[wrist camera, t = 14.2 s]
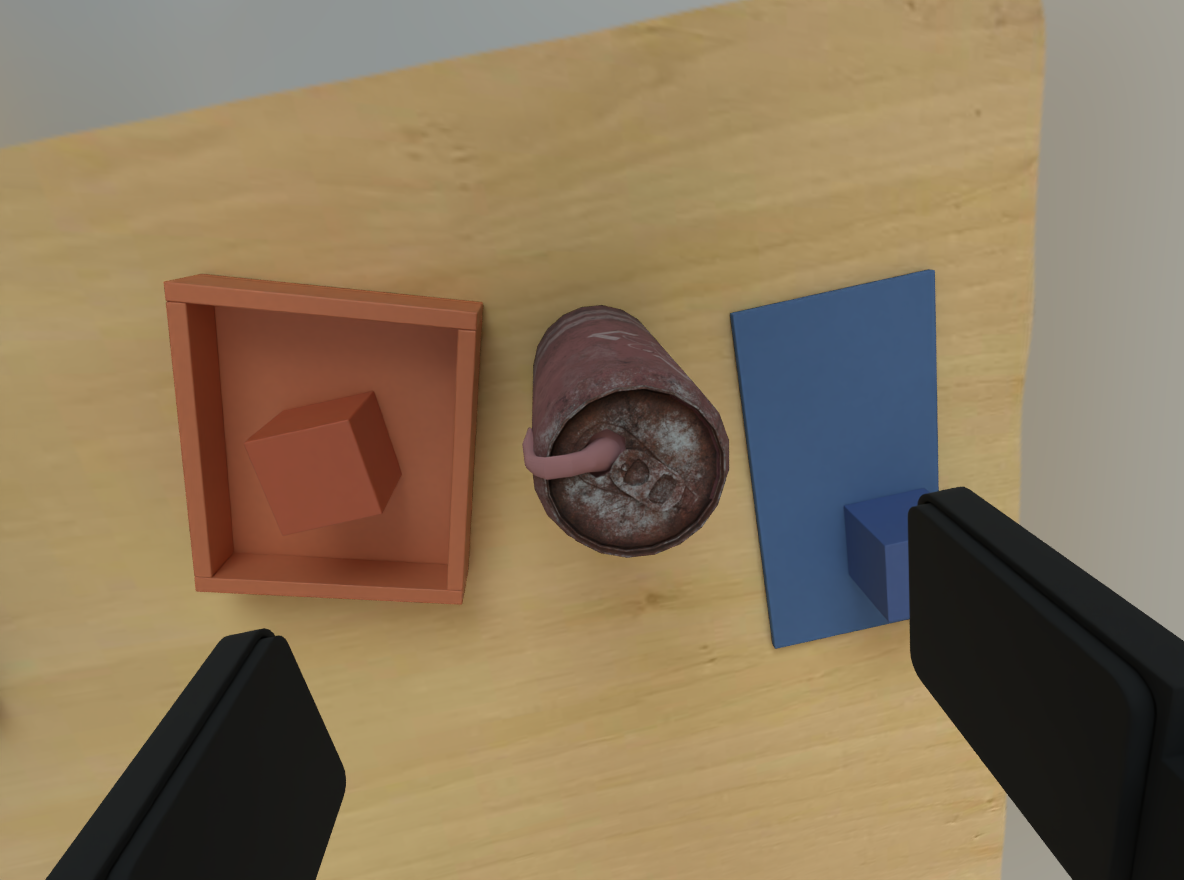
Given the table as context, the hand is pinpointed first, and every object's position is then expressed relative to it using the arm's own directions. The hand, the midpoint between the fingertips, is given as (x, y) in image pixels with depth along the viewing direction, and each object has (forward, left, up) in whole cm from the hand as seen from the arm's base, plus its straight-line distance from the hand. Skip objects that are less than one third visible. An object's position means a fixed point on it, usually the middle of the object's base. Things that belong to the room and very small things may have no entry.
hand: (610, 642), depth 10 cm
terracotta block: (+6, -10, -23) cm, 25 cm away
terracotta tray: (+6, -10, -23) cm, 26 cm away
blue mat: (+6, +16, -23) cm, 29 cm away
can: (+1, +2, -24) cm, 24 cm away
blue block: (+9, +19, -23) cm, 31 cm away
